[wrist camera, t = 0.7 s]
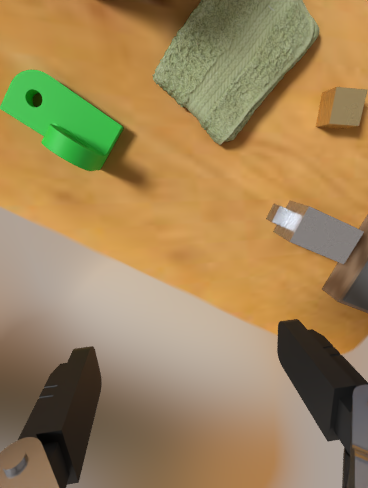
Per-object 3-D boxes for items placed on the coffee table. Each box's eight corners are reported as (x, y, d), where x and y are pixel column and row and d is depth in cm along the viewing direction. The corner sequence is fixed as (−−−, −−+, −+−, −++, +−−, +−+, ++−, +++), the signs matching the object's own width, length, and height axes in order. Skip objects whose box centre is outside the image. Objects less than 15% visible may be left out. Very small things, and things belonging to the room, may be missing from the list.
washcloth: (318, 36, 32) (336, 22, 29) (222, 151, 35) (228, 150, 32) (244, -62, 28) (255, -89, 25) (144, 76, 31) (142, 67, 28)
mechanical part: (124, 128, 33) (114, 118, 25) (100, 169, 34) (84, 172, 26) (31, 63, 30) (-13, 30, 22) (9, 111, 31) (-39, 95, 23)
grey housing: (278, 195, 37) (295, 200, 32) (349, 227, 40) (375, 237, 35) (261, 226, 38) (276, 236, 34) (332, 256, 41) (355, 269, 36)
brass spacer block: (321, 93, 34) (336, 86, 31) (349, 95, 34) (367, 89, 31) (315, 126, 35) (329, 123, 32) (342, 128, 35) (359, 125, 32)
